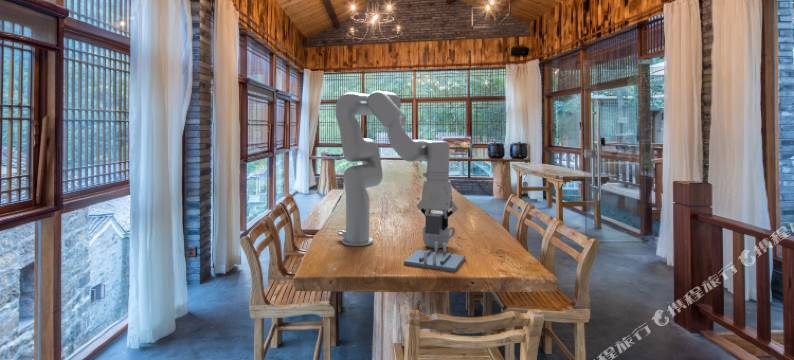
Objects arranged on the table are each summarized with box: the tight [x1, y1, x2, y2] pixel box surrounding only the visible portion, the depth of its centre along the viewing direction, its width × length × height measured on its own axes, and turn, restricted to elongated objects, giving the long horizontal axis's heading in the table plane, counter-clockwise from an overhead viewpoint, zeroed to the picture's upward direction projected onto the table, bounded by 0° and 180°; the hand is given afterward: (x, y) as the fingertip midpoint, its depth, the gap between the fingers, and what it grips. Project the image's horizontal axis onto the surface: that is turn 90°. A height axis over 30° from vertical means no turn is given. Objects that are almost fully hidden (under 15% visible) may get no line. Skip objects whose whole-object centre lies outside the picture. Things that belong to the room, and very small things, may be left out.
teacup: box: [422, 226, 456, 249], centre depth 164 cm, size 14×11×8 cm
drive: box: [424, 210, 447, 235], centre depth 144 cm, size 5×10×6 cm, turn 158°
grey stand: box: [403, 242, 466, 273], centre depth 145 cm, size 18×15×5 cm
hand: (436, 227), depth 144 cm, fingers closed on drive, 5 cm apart
